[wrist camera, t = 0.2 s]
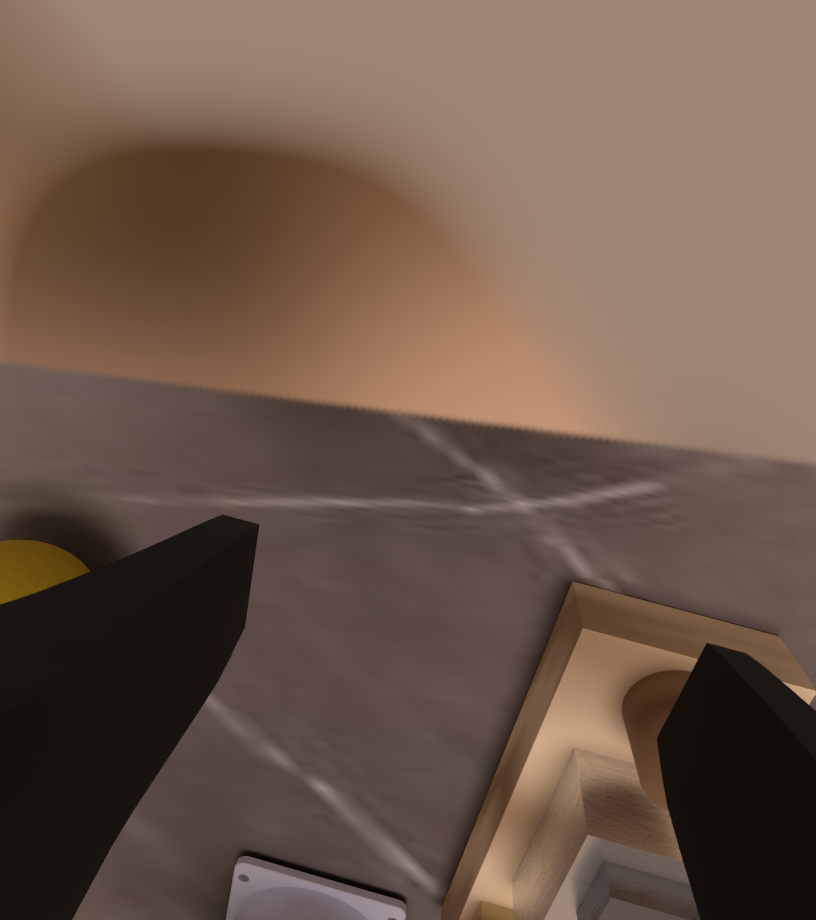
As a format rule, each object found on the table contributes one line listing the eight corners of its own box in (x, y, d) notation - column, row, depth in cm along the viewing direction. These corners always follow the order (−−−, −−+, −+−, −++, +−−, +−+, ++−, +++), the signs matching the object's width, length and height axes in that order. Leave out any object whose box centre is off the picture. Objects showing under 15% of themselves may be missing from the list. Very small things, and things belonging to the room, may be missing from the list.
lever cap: (631, 915, 22) (659, 1055, 18) (512, 881, 22) (515, 1013, 18) (710, 785, 19) (763, 919, 15) (574, 747, 19) (593, 870, 16)
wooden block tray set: (593, 950, 27) (614, 1098, 22) (441, 906, 27) (431, 1044, 22) (779, 636, 20) (865, 760, 15) (572, 581, 20) (595, 686, 15)
